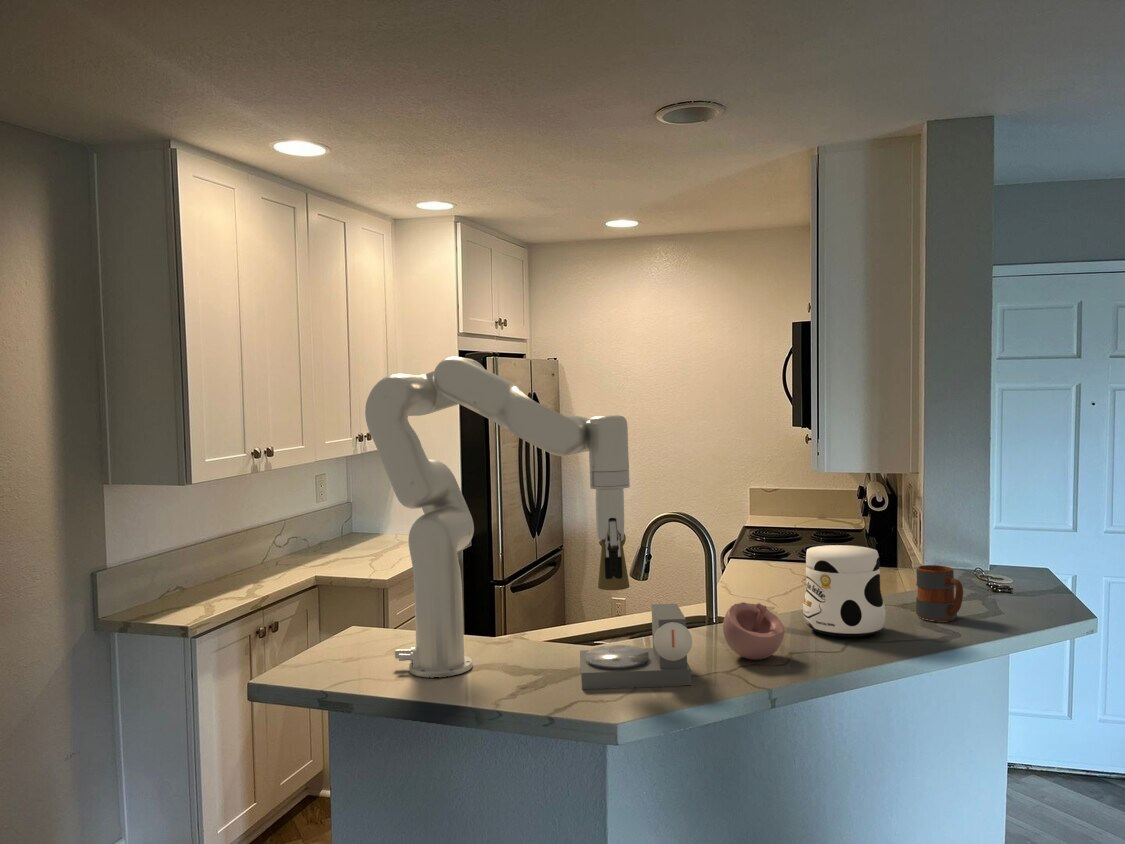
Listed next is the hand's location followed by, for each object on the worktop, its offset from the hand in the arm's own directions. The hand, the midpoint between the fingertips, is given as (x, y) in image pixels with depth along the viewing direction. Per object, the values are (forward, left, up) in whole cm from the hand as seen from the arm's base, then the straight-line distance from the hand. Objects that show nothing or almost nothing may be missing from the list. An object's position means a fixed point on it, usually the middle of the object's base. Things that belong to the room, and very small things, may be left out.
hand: (613, 574), depth 155 cm
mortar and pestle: (+28, +8, -20) cm, 35 cm away
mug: (+77, +32, -20) cm, 86 cm away
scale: (+3, 0, -19) cm, 20 cm away
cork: (0, 0, -2) cm, 2 cm away
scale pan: (0, 0, -16) cm, 16 cm away
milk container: (+52, +25, -20) cm, 61 cm away
